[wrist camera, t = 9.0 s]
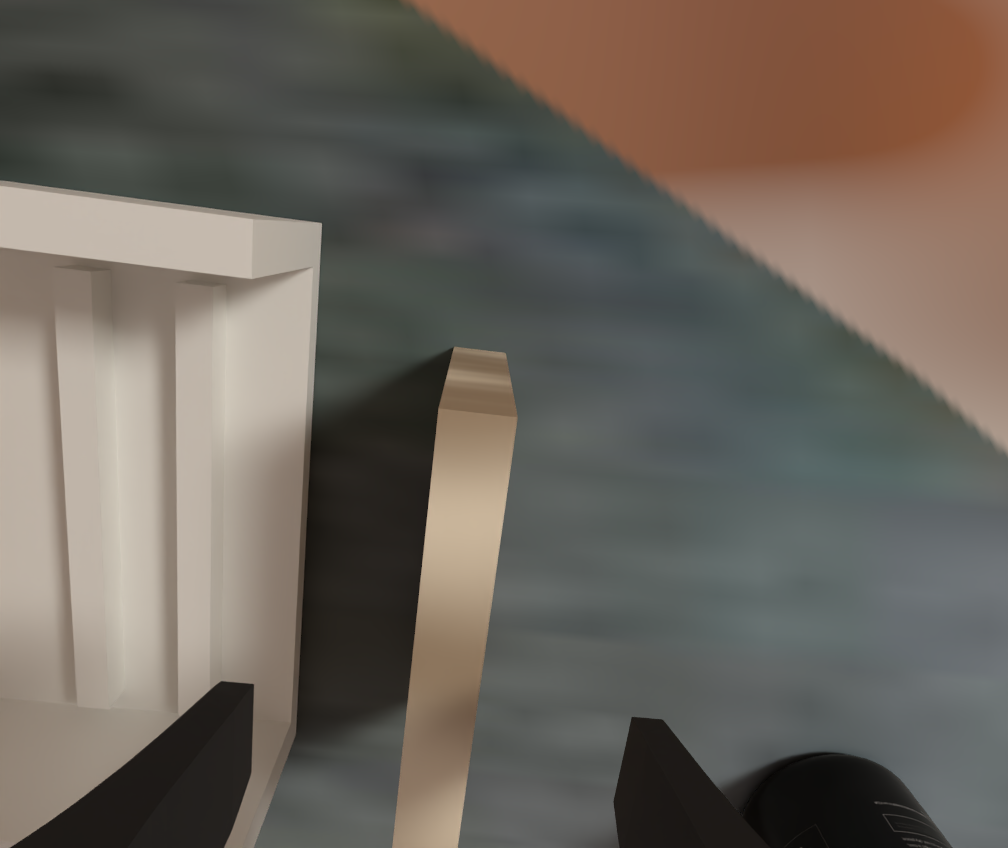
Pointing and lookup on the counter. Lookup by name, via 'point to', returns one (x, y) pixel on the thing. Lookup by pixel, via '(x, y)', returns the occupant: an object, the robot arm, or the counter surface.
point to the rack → (147, 483)
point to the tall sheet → (455, 595)
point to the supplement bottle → (839, 807)
